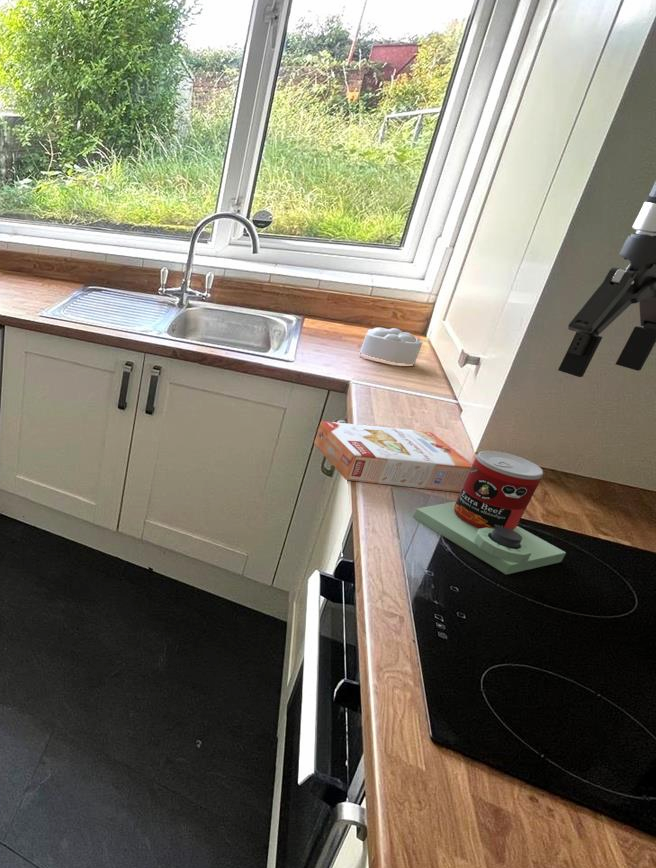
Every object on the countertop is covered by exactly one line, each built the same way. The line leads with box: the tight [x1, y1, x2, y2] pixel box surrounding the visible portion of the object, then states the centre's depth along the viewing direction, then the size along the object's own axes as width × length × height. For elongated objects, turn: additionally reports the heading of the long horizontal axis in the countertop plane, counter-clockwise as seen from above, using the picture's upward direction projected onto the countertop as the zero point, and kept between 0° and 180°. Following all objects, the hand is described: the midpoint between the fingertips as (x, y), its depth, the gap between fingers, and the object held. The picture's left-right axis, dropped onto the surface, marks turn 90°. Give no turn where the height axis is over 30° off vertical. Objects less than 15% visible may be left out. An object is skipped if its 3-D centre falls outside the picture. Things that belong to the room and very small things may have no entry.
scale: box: [412, 501, 567, 575], centre depth 93 cm, size 14×12×4 cm
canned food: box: [454, 450, 544, 530], centre depth 94 cm, size 8×8×11 cm
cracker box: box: [313, 420, 473, 493], centre depth 112 cm, size 14×6×21 cm
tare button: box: [490, 527, 522, 549], centre depth 88 cm, size 3×3×2 cm
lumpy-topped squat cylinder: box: [359, 326, 423, 364], centre depth 168 cm, size 10×13×9 cm
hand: (599, 370), depth 92 cm, fingers open, 13 cm apart
